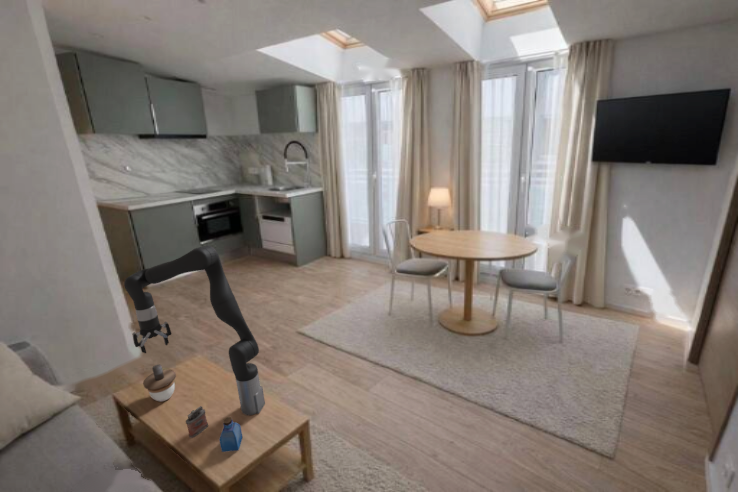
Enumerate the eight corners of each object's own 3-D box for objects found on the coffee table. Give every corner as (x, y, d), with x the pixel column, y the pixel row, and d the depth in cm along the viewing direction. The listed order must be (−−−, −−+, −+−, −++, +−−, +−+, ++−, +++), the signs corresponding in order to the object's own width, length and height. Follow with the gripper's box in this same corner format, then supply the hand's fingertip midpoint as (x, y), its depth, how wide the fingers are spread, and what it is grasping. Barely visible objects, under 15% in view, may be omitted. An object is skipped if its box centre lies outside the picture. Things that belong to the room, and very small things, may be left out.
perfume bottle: (226, 438, 143) (221, 414, 139) (242, 437, 144) (237, 413, 140) (221, 452, 137) (216, 427, 134) (238, 450, 138) (233, 425, 134)
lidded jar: (181, 389, 172) (177, 372, 170) (167, 405, 162) (163, 388, 159) (160, 388, 173) (156, 372, 171) (145, 404, 163) (140, 387, 160)
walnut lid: (182, 372, 170) (179, 359, 168) (162, 390, 158) (159, 377, 156) (157, 370, 172) (154, 357, 170) (136, 388, 160) (133, 374, 158)
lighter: (192, 439, 144) (187, 419, 141) (187, 435, 145) (182, 415, 142) (210, 425, 150) (205, 405, 147) (205, 422, 152) (200, 403, 149)
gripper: (163, 307, 163) (171, 339, 168) (126, 319, 154) (135, 351, 159) (167, 313, 158) (175, 345, 162) (129, 325, 149) (139, 359, 154)
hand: (155, 348), depth 161 cm, fingers open, 8 cm apart
